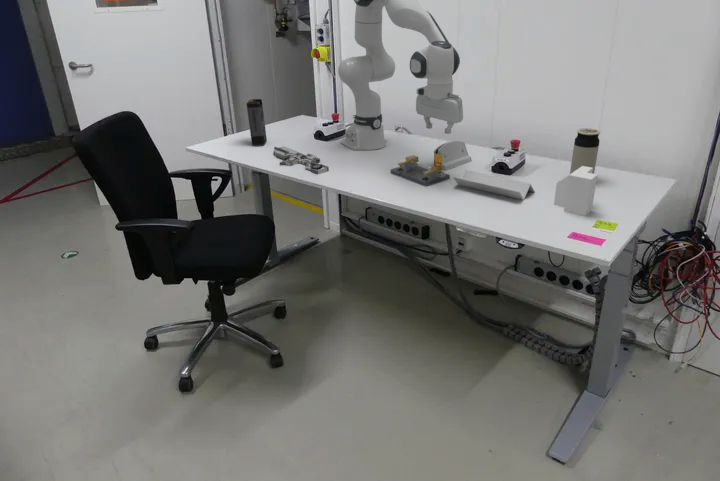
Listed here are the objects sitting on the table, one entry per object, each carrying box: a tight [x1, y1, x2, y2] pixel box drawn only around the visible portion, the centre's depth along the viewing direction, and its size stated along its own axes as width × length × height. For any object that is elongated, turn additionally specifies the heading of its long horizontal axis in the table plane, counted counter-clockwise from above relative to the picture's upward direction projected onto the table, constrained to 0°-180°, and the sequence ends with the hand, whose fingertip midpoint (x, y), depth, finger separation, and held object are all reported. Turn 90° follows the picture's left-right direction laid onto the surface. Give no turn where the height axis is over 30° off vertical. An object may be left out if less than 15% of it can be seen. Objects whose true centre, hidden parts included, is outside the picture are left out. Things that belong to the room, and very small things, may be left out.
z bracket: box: [452, 169, 536, 201], centre depth 182 cm, size 12×25×6 cm
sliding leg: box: [423, 153, 445, 179], centre depth 191 cm, size 3×8×8 cm, turn 127°
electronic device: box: [246, 98, 268, 147], centre depth 243 cm, size 9×6×20 cm, turn 179°
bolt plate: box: [389, 154, 451, 187], centre depth 198 cm, size 20×12×5 cm, turn 37°
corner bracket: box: [553, 166, 599, 217], centre depth 165 cm, size 11×11×12 cm
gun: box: [272, 146, 330, 175], centre depth 221 cm, size 41×3×15 cm
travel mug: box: [569, 127, 601, 175], centre depth 184 cm, size 8×8×18 cm
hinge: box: [433, 140, 473, 172], centre depth 209 cm, size 17×5×10 cm, turn 130°
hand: (438, 130), depth 187 cm, fingers open, 8 cm apart
